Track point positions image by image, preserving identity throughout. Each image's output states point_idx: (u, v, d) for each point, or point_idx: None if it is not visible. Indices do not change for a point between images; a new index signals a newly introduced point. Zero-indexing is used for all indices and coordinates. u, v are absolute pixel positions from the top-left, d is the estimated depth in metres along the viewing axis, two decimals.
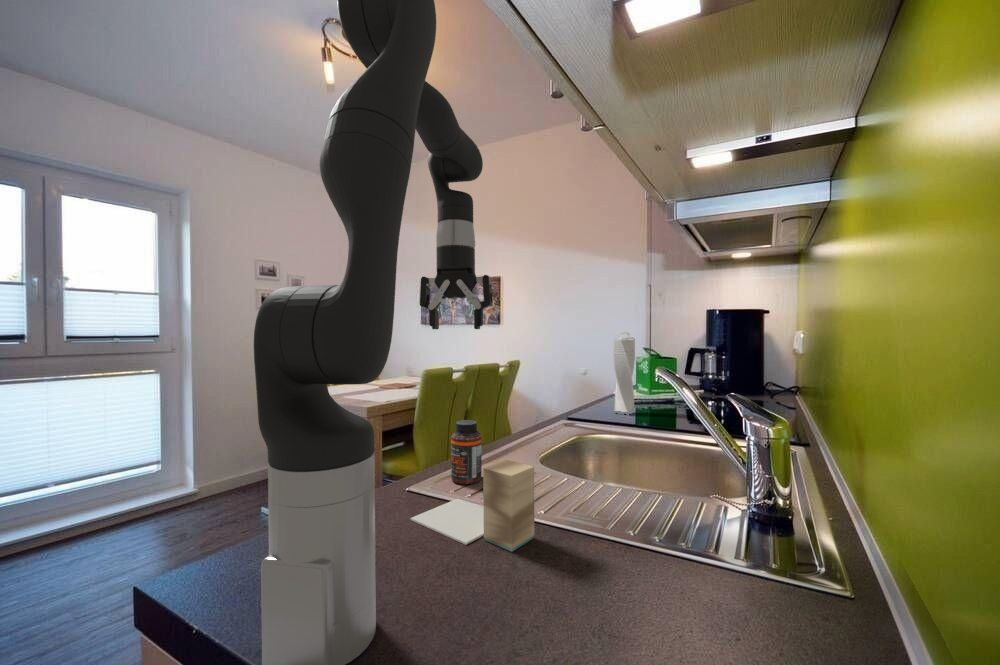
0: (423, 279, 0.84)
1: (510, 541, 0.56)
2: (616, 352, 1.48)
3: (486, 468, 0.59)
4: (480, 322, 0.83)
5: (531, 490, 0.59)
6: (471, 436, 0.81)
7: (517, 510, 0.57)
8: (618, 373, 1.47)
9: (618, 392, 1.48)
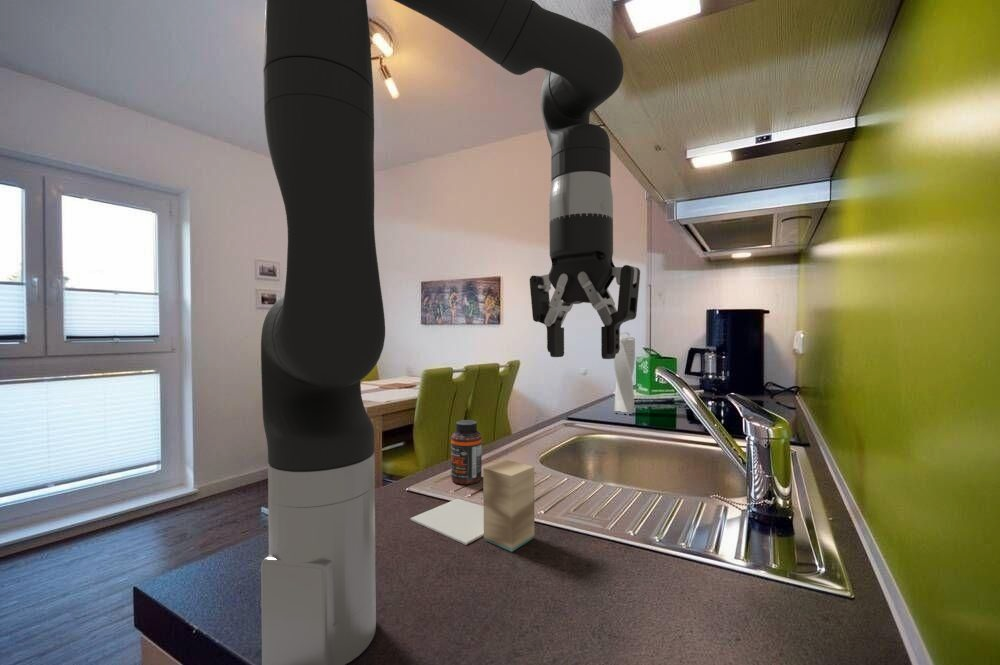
0: None
1: (510, 541, 0.56)
2: None
3: (486, 468, 0.59)
4: None
5: (531, 490, 0.59)
6: (471, 436, 0.81)
7: (517, 510, 0.57)
8: (618, 373, 1.47)
9: (618, 392, 1.48)
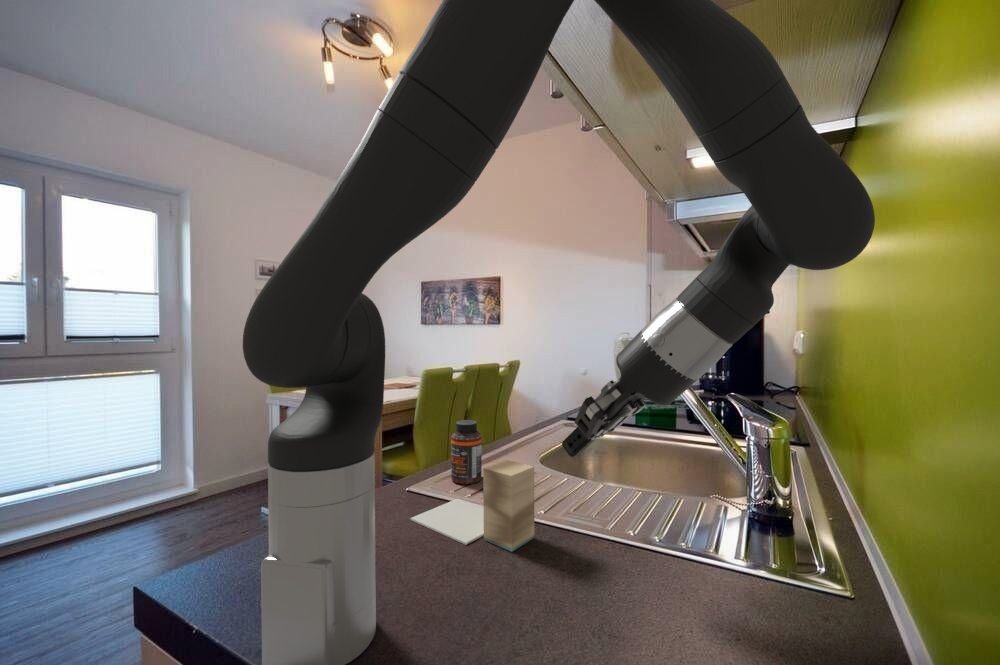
0: (602, 419, 0.44)
1: (510, 541, 0.56)
2: (616, 352, 1.48)
3: (486, 468, 0.59)
4: None
5: (531, 490, 0.59)
6: (471, 436, 0.81)
7: (517, 510, 0.57)
8: (618, 373, 1.47)
9: None
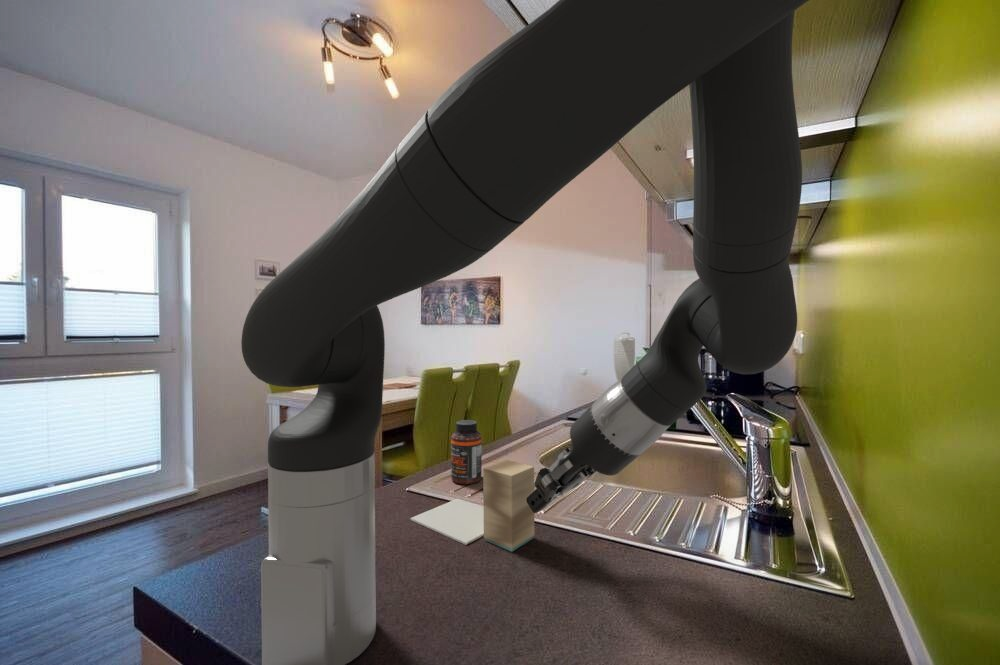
0: (555, 489, 0.48)
1: (510, 541, 0.56)
2: (616, 352, 1.48)
3: (486, 468, 0.59)
4: None
5: (531, 490, 0.59)
6: (471, 436, 0.81)
7: (517, 510, 0.57)
8: (618, 373, 1.47)
9: None
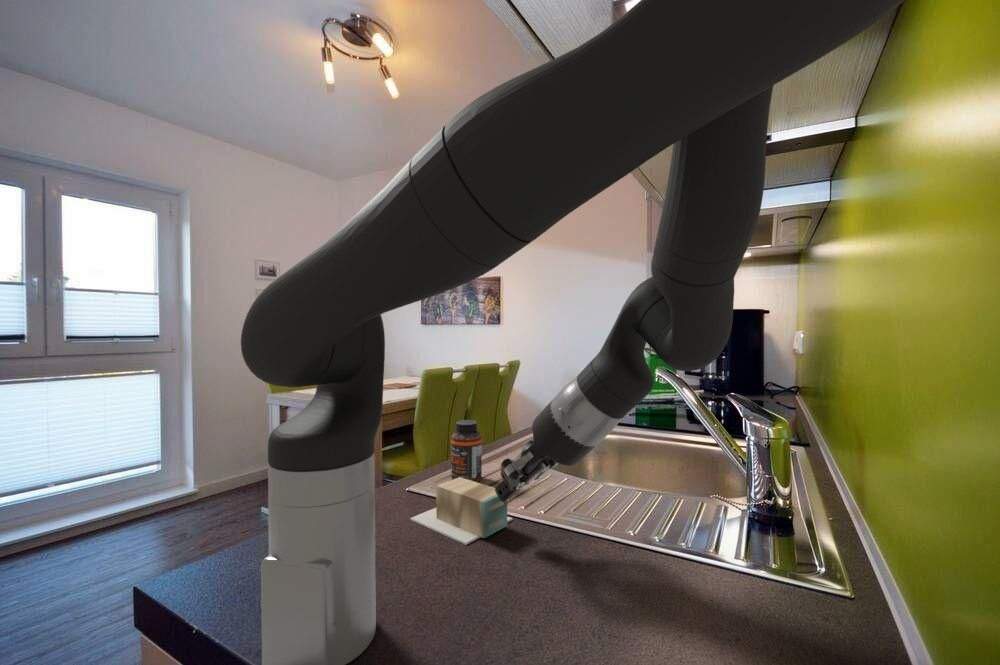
0: (516, 478, 0.51)
1: (477, 501, 0.60)
2: None
3: None
4: None
5: (470, 482, 0.67)
6: (471, 436, 0.81)
7: (464, 491, 0.63)
8: None
9: None
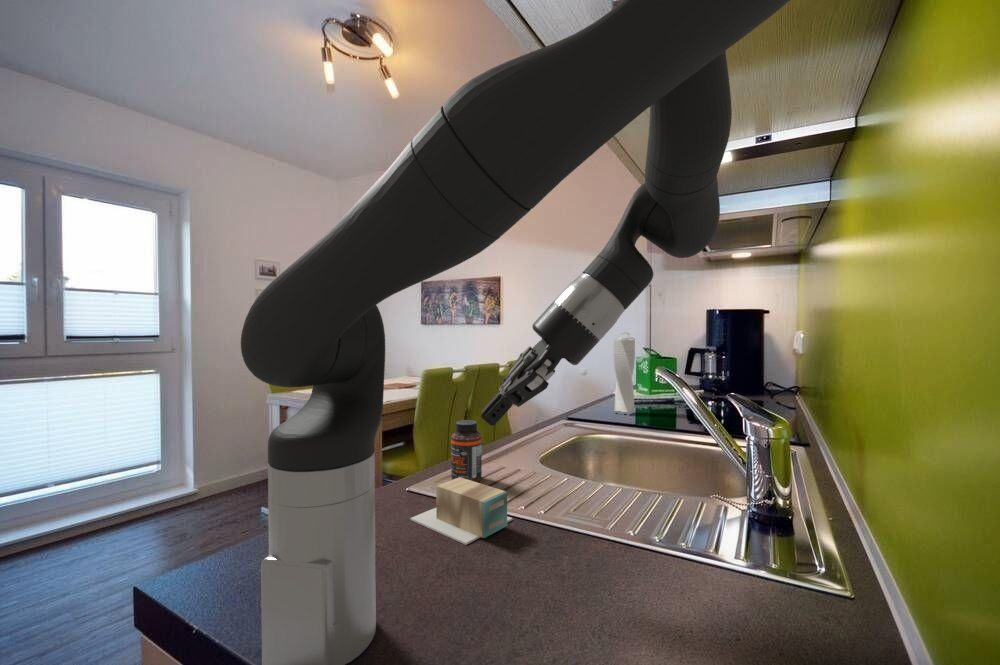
0: None
1: (477, 501, 0.60)
2: (616, 352, 1.48)
3: None
4: None
5: (470, 482, 0.67)
6: (471, 436, 0.81)
7: (464, 491, 0.63)
8: (618, 373, 1.47)
9: (618, 392, 1.48)
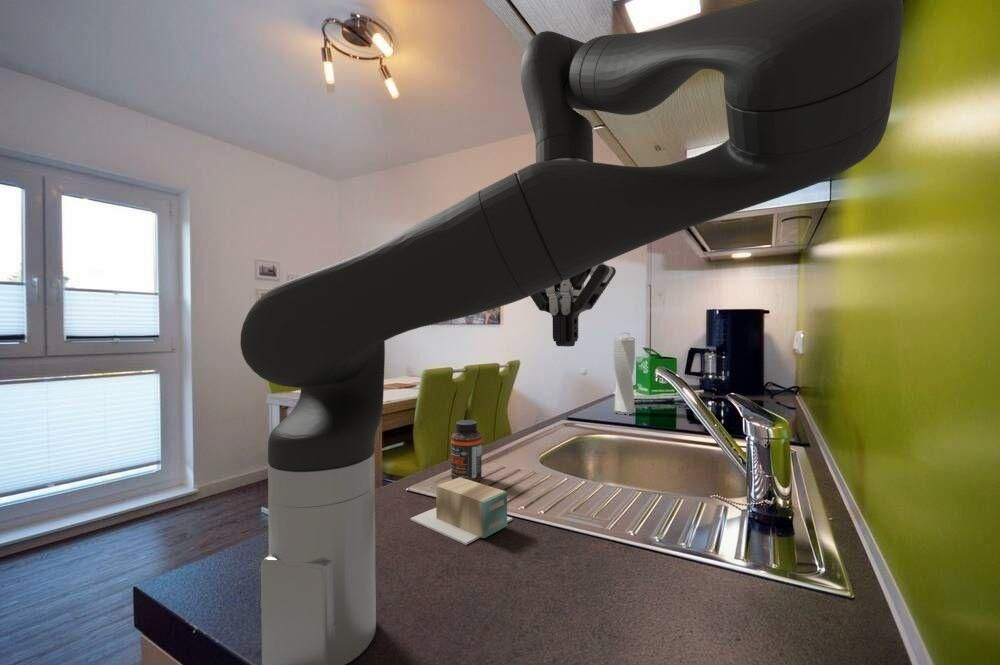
0: None
1: (477, 501, 0.60)
2: (616, 352, 1.48)
3: None
4: None
5: (470, 482, 0.67)
6: (471, 436, 0.81)
7: (464, 491, 0.63)
8: (618, 373, 1.47)
9: (618, 392, 1.48)
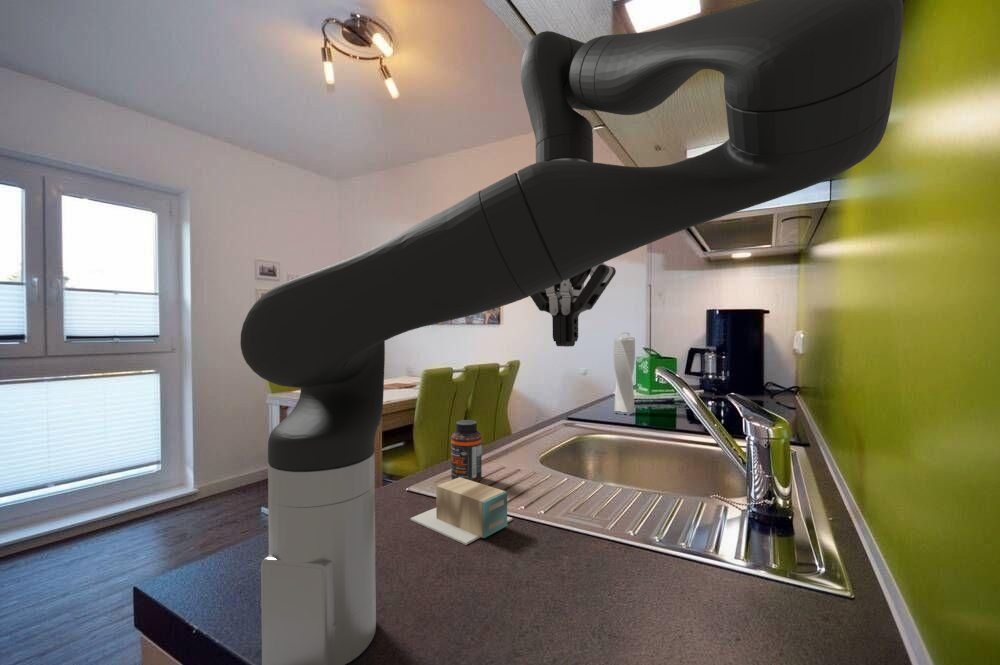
0: None
1: (477, 501, 0.60)
2: (616, 352, 1.48)
3: None
4: None
5: (470, 482, 0.67)
6: (471, 436, 0.81)
7: (464, 491, 0.63)
8: (618, 373, 1.47)
9: (618, 392, 1.48)
